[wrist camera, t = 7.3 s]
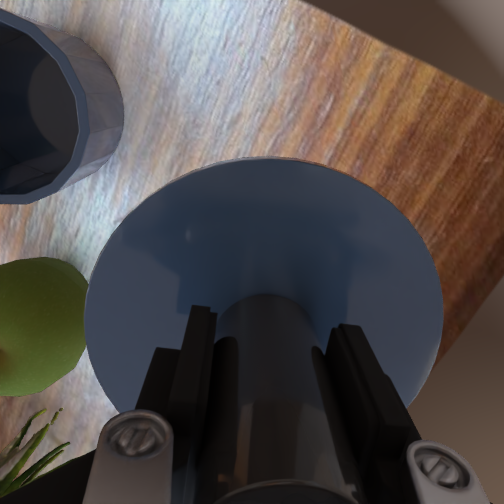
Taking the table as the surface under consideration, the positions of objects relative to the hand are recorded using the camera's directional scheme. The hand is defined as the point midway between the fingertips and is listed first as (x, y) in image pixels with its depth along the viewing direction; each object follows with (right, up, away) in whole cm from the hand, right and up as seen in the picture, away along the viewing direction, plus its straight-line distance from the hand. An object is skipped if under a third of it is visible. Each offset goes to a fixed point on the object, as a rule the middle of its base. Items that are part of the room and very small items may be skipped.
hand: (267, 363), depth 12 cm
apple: (-16, +1, +23) cm, 28 cm away
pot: (-15, +13, +18) cm, 27 cm away
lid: (0, +1, +2) cm, 2 cm away
